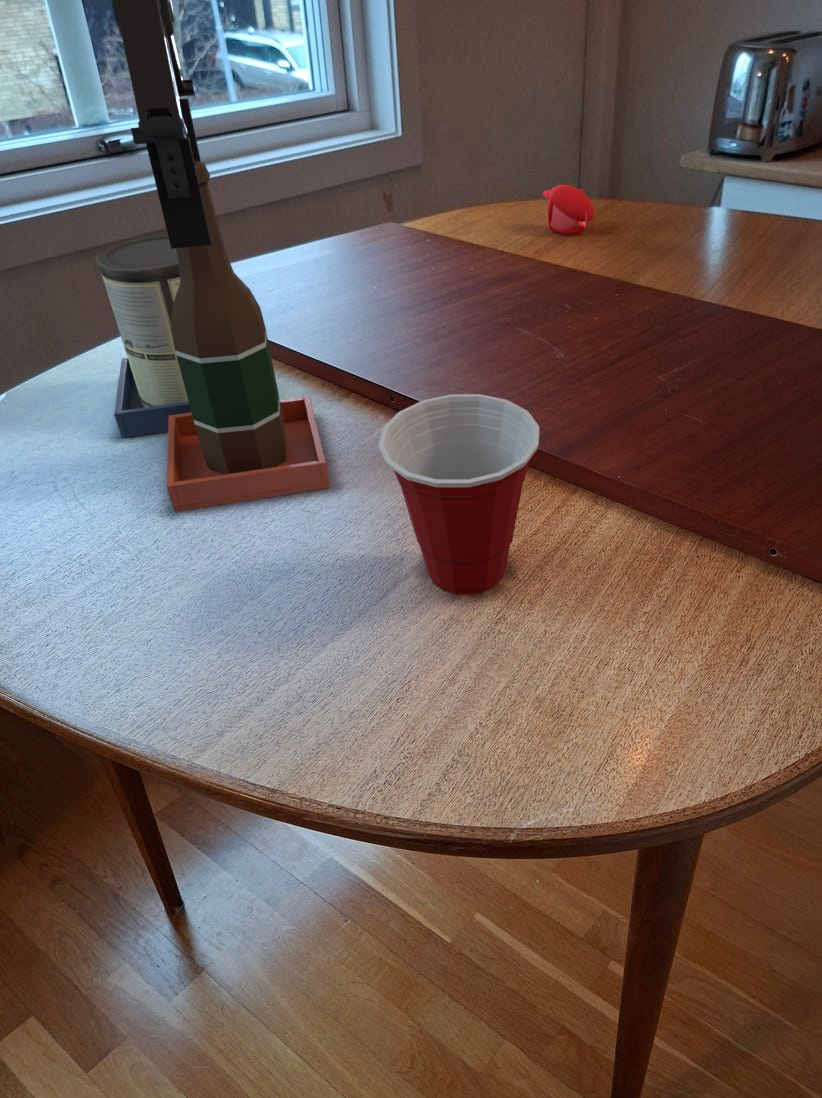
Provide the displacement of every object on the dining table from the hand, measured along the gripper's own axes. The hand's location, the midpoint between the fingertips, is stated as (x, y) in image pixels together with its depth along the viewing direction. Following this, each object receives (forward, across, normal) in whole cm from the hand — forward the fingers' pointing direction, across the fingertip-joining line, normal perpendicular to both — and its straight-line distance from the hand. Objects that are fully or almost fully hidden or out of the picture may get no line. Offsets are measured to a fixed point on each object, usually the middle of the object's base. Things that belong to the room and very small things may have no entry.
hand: (190, 218), depth 66 cm
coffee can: (+21, +15, +5) cm, 26 cm away
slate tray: (+21, +15, +5) cm, 26 cm away
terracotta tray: (+21, 0, 0) cm, 21 cm away
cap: (+21, +55, -49) cm, 77 cm away
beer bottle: (+20, 0, 0) cm, 21 cm away
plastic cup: (+21, -22, -15) cm, 34 cm away
